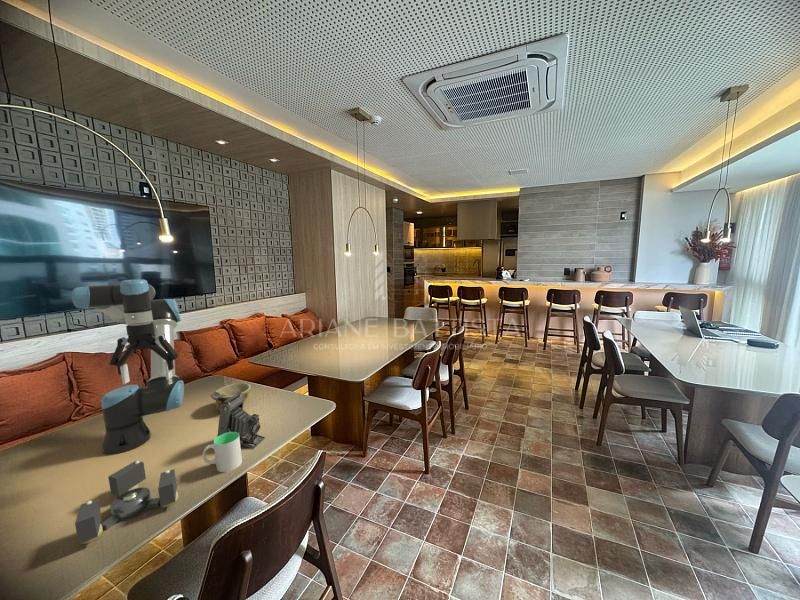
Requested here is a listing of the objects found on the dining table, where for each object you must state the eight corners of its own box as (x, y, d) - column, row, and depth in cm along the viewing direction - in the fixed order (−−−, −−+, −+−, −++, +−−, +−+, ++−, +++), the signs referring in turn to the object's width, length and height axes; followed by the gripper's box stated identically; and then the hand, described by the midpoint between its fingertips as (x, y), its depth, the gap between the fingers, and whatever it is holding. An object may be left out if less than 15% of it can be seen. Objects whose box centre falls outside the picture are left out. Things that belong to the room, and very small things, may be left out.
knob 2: (159, 513, 92) (155, 487, 91) (162, 497, 99) (158, 472, 98) (177, 507, 95) (174, 481, 94) (179, 491, 101) (175, 466, 100)
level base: (87, 523, 90) (84, 508, 89) (132, 493, 101) (130, 479, 101) (121, 534, 86) (118, 518, 85) (164, 501, 97) (162, 487, 97)
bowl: (241, 396, 172) (239, 380, 171) (258, 404, 162) (257, 387, 161) (206, 409, 158) (204, 391, 157) (223, 419, 148) (221, 400, 147)
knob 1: (77, 552, 81) (72, 522, 80) (83, 531, 87) (78, 503, 86) (101, 542, 83) (95, 513, 82) (104, 523, 90) (100, 495, 89)
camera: (250, 459, 123) (257, 413, 119) (213, 445, 125) (219, 400, 122) (267, 443, 133) (274, 400, 130) (232, 430, 136) (239, 388, 133)
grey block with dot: (111, 499, 99) (106, 474, 98) (138, 482, 106) (134, 458, 105) (120, 502, 98) (116, 476, 96) (147, 484, 105) (144, 460, 104)
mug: (202, 478, 107) (198, 449, 106) (206, 464, 115) (203, 437, 113) (241, 468, 112) (238, 441, 111) (242, 455, 119) (240, 429, 118)
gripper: (90, 328, 104) (100, 388, 107) (174, 322, 110) (182, 380, 113) (105, 323, 112) (114, 380, 115) (184, 318, 117) (190, 373, 120)
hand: (148, 380), depth 114 cm, fingers open, 13 cm apart
